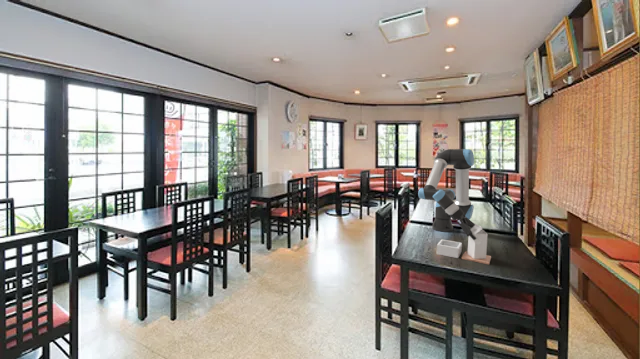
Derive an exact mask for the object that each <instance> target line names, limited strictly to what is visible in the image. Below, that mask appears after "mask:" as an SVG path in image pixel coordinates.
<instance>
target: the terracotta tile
mask: <svg viewBox="0 0 640 359" xmlns="http://www.w3.org/2000/svg"><path fill="white" fill-rule="evenodd" d="M491 259H492V255H487V254H486V259H473V258H472V257H471V256H469V255H468V250H467V251H464V252H463V254H462V256H461V260H463V261H469V262H473V263H480V264H484V265H490V262H491Z"/></svg>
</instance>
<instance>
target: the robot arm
mask: <svg viewBox="0 0 640 359" xmlns="http://www.w3.org/2000/svg"><path fill="white" fill-rule="evenodd" d="M474 164H475V156H474V152H473V150H472V149H467V148H466V149H465V148H456V149H455V148H447V149H445V150H443V151H441V152H440V153H439V154H437V156H436V157H435V158H434V160H433V166H432V168H431V171H430V173H429V176H428V177H427V180H426V182H425V185H424V187H420V188H419V190H418V191H417V192H418V193H417V194H418V199H421V200H427V201H435V212H434V216H435V217H434V221H433V223H432V225H431V226H432V230H435V231H437V232H444V233H448V232H453V231H454V226H453V223H452V221H456V222H457V224H458V225H459V226H460V228H461V229H462V231H463V232H464V233H465V235H466V237H469V236H470V237H471V238H472V239H473V241H474V242H475V243H476V244H477V245H479V244H480V243H482V242H481V241H480V240H479V238H478V237H477V236H476V235H475V234H474V233H472V231H471V230H470V229H471V228H472V227H474V226H475V224H476V223H474V222H473V221H472V220H471V219H472V216H473V213H474V209H475V208H474V205H473V204H472V202H471V200H470V196H469V195H470V193H469V192H470V190H469V189H470V188H469V187H470V184H469V183H470V170H471V169H472V167H473V166H474ZM448 166H453V169H454V171H455V190H453V189H450V188H448V189H437V188H438V186H439V183H440V180H441V178H442V176H443V173H444V171H445V169H446V168H447V167H448ZM454 199H455V200H454Z"/></svg>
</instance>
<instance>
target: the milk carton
mask: <svg viewBox="0 0 640 359" xmlns="http://www.w3.org/2000/svg"><path fill="white" fill-rule="evenodd" d="M474 224H475V226H474V227H472V228H470V230H471V231H472V233H474V234H475V235H476V236H477V237H478V238H479V240H480V241H481V242H482V243H480V244H479V245H477V244H476V243H475V242H474V241H473V239H472V238H471V237H470V236H467V238H468V242H467V252H468V255H469V256H471V257H472V258H473V259H486V255H487V249H488V248H487V247H488V234H489V233H487V232H486V231H485V230H484V229H483V227H482V226H480V225H479V224H476V223H474Z"/></svg>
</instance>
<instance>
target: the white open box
mask: <svg viewBox="0 0 640 359" xmlns="http://www.w3.org/2000/svg"><path fill="white" fill-rule="evenodd" d="M462 247H463V243H462V242H460V241H454V240H447V239H440V240H439V241H438V243H437V244H436V255H440V256H445V257H451V258H455V259H459V257H460V255H461V254H462V249H463V248H462Z"/></svg>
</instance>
